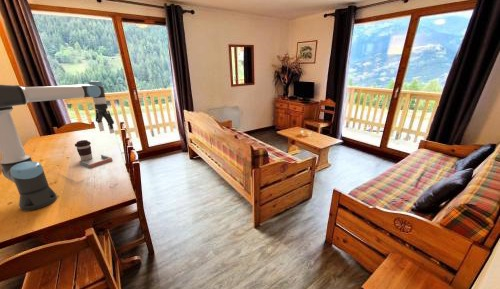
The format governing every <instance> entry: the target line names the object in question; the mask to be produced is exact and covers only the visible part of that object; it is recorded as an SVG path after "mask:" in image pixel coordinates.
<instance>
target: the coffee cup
mask: <svg viewBox="0 0 500 289" xmlns="http://www.w3.org/2000/svg"><path fill="white" fill-rule="evenodd" d="M91 144H92V143H91V141H88V139H82V140H78V141H76V143H74V147H76V150H77V153H78V156H79V158H80V161H89V160H91V159H92V158H93V154H92V153H93V152H92V146H91Z"/></svg>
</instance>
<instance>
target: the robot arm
mask: <svg viewBox="0 0 500 289" xmlns="http://www.w3.org/2000/svg"><path fill="white" fill-rule="evenodd" d="M80 98H81V99H83V98H84V99H85V98H86V99H87V98H92V101H93V104H94V108H95V122H97V123H98V129H99V132H105V128H104V124H103V118H104V120H105V122H107V126H108V130H109V134H110V135H111V134H115V129H114V124H115V121H114V119H113V117H112V114H111V113H110V110H107V109H108V108H109V107H108V104H107V97H106V95H105V90H104V84H103V82H102V81H100V80H90V81H88V83H87V84H70V85H51V86H49V85H48V86H47V85H46V86H44V85H43V86H26V87H25V86H22V85H15V84H14V85H13V84H12V85H11V84H10V85H9V84H0V153H1V157H2V159H1V160H0V165H1V173H2V175H3V176H4V178H6V179H8V180H9V181H11V182H13V183H14V184H15V186H16V189H17V192H18V193H19V200H18V207H19V209H20V210H21V211H24V212H27V211H33V210H38V209H41V208H43V207H46V206H49V205H51V204H53V203H54V202H56V200H57V199H58V196H57V193H56V192H55V191H54V190H53V189H52V187H50V185H49V183H48V179H47V177H46V173H45V171H44V167H43V166H42V164H41V163H40V162H38V161H34V160H32V158H31V155H29V154H26V151H25V149H24V147H23V144H22V140H21V139H20V135H19V132H18V130H17V128H16V125H15V123H14V119H13V117H12V114H11V112H12V111H13V110H14V106H24V105H27V104H28V103H33V102H34V103H36V102H48V101H56V100H57V101H58V100H59V101H61V100H71V99H80Z"/></svg>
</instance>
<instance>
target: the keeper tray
mask: <svg viewBox="0 0 500 289" xmlns="http://www.w3.org/2000/svg"><path fill="white" fill-rule="evenodd" d="M100 156H101V158H102V160H99V161H95V162H93V163H88V162H86V161H84V160H80V161H79V163H80V165H82V166H85V167H87V168H90V169H92V168H95V167H97V166H100V165H103V164H106V163H109V162H112V161H113V158H112V157H111V156H108V155H104V154H100Z"/></svg>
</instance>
